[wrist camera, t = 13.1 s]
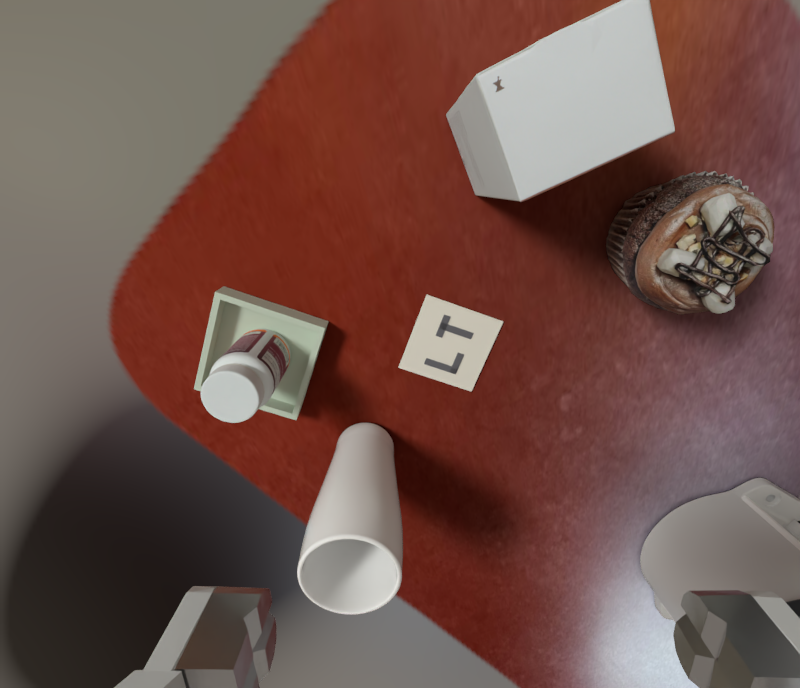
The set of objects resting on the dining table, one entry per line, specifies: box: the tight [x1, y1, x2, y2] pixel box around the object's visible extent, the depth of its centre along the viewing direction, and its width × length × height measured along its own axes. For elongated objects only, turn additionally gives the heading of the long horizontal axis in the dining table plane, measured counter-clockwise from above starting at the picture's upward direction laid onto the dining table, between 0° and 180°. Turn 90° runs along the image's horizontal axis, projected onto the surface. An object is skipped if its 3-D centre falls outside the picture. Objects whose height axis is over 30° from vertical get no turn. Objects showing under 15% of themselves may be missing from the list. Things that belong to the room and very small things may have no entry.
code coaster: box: [398, 295, 503, 392], centre depth 38 cm, size 7×7×1 cm
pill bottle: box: [201, 329, 291, 423], centre depth 34 cm, size 5×5×8 cm
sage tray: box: [194, 286, 329, 420], centre depth 38 cm, size 9×9×2 cm
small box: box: [446, 0, 675, 202], centre depth 27 cm, size 8×6×13 cm
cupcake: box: [606, 171, 774, 315], centre depth 31 cm, size 10×10×10 cm
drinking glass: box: [297, 423, 403, 614], centre depth 35 cm, size 7×7×15 cm
